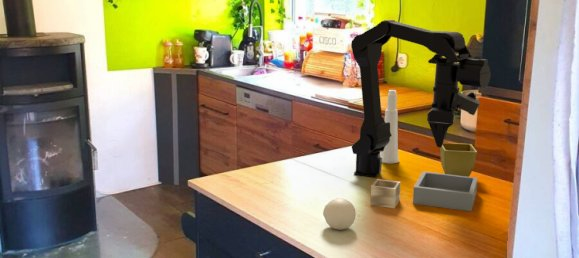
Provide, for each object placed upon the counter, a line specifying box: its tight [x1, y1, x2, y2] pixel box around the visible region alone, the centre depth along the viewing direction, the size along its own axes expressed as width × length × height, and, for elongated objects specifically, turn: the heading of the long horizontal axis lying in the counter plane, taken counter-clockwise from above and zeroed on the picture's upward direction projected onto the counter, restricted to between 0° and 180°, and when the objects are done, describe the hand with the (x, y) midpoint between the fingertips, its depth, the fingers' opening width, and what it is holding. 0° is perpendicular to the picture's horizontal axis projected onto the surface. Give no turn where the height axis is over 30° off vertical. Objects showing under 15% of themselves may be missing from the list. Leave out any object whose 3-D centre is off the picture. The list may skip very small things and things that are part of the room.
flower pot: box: [439, 142, 478, 177], centre depth 170 cm, size 9×9×9 cm
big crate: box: [412, 170, 478, 212], centre depth 153 cm, size 14×14×4 cm
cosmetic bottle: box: [380, 89, 400, 165], centre depth 184 cm, size 6×6×22 cm
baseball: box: [322, 198, 357, 230], centre depth 134 cm, size 7×7×7 cm
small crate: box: [370, 178, 401, 209], centre depth 150 cm, size 6×6×5 cm
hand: (441, 142), depth 156 cm, fingers open, 9 cm apart
